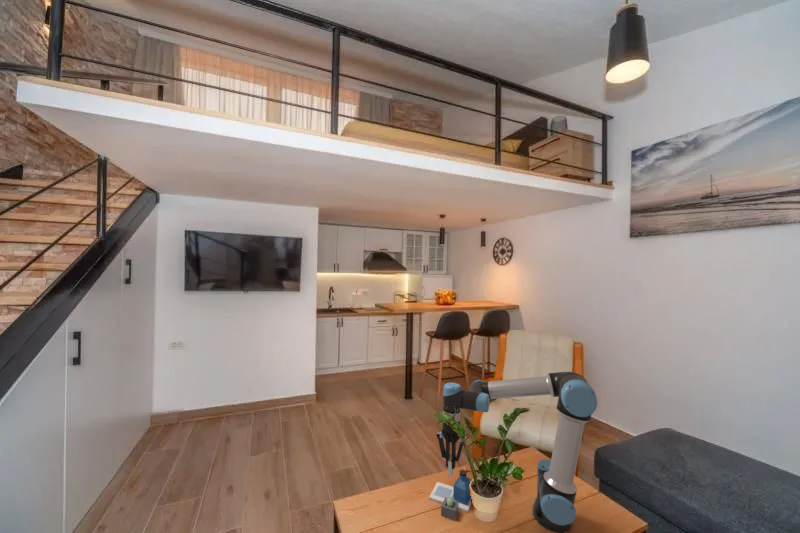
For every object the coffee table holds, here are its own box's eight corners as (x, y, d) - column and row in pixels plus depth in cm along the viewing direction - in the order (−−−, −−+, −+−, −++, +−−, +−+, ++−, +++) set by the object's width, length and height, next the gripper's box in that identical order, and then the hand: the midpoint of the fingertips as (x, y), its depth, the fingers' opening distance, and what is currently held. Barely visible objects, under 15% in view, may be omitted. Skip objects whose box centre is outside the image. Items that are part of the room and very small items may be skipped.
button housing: (458, 511, 138) (458, 501, 138) (454, 520, 132) (454, 510, 132) (445, 506, 140) (445, 497, 140) (441, 515, 135) (441, 506, 135)
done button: (453, 507, 137) (454, 498, 137) (452, 511, 134) (452, 502, 134) (447, 505, 138) (447, 496, 138) (445, 509, 135) (446, 500, 136)
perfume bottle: (466, 505, 140) (466, 477, 140) (453, 499, 143) (453, 472, 144) (471, 497, 145) (472, 470, 145) (459, 491, 148) (459, 465, 149)
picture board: (473, 495, 148) (473, 492, 148) (468, 512, 137) (468, 509, 137) (437, 483, 155) (437, 481, 155) (429, 499, 144) (429, 496, 144)
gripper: (468, 419, 138) (467, 474, 137) (439, 413, 143) (438, 466, 143) (464, 427, 131) (463, 484, 130) (434, 420, 137) (433, 475, 136)
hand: (450, 475), depth 137 cm, fingers closed
